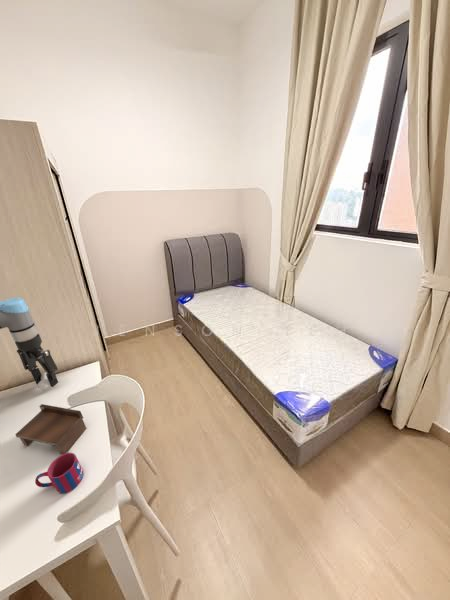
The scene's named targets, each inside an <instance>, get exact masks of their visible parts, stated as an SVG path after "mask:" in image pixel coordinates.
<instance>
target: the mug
mask: <svg viewBox="0 0 450 600" xmlns="http://www.w3.org/2000/svg"><path fill="white" fill-rule="evenodd" d="M42 477H43V478H44V477H48V479H49V480H50V482H41V481H39V479H40V478H42ZM83 477H84V469H83V467H82V465H81V463H80V461H79V459H78V457H77V455H76V454H75V453H74V452H67V453H65V454H63V455H62V454H60V455H59V456H57V457H56V458H55V459H54V460H53V461H52V462H51V463H50V464H49V466H48V468H47V471H44V472H40V473H39V474H37V475H36V477H35V480H34V483H35V485H36V486H37V487H39V488H50V487H54V489H55V491H56V492H57V493H59V494H67V493H69V492H72V491H73V490H74V489H76V488H77V487H78V485H80V483H81V482H82V480H83Z"/></svg>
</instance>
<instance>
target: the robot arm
mask: <svg viewBox="0 0 450 600" xmlns="http://www.w3.org/2000/svg"><path fill="white" fill-rule="evenodd" d="M30 311H31V310H30V308H29V307H28V304H27V302H26V301H25V299H24V298H22V297H11V298H8V299H3V300H1V301H0V330H2V329H6V328H7V329H8V331H9V333H10V335H11V337H12V340H13V341H14V343H15V346H16V348H17V350H16V353H17V355H18V356H19V358H20V361H21V363H22V366H23V369H24V370H25V371H27V370H28V371H29V372H30V374H31V376H32V377H33V379H34V381H35V383H36V386H38V383H39V382H40V381H41V375H42V374H43V373H42V372H41V370H40V368H39V365H40V366H41V367H42V369H43V370H44V372H47V374H46V376H47V378H48V380H49V383H50V385H51V386H50V387H51V388H54V387H55V386H56V385H58V383H59V381H58V378H57V375H56V372H57V371H58V370H59V368H58V366H57V363H56V362H55V360H54V359H53V357H52V355H51V351H50V350H49V349H46V350H45V349H44V348H43V347H42V346H41V345H42V343H43V340H42V338H41V335H40V333H39V331H38V329H37V326H36V323H35V321H34V319H33V316H32V315H31V312H30ZM37 363H38V364H39V365H37Z"/></svg>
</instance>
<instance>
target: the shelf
mask: <svg viewBox="0 0 450 600" xmlns="http://www.w3.org/2000/svg"><path fill="white" fill-rule="evenodd" d="M38 407H39V409H40V411H39V412H38V413H37V414H36V415H35V416H34V417H32V418H31V419H30V420H29V422H27V423H26V424H25V425H24V426H22V427H21V429H20V430H18V431H17V432H16V433H14V435H15V436H16V438H19V440H20V441H21V443H22V445H23V447H29V446H30V445H31V444H32V443H34V442H37V443H42V444H46V445H51V446H55V447H56V448H57V450H58V452H59V454H60V455H63V454H65V453H69V451H70V449H72V447H73V446H74V445H75V443H76V442H77V441H78V440H79V438H81V436H82V435H83V434H84V432H85V431H86V430H87V429H88V428H87V427H86V423H85V421H84V420H83V419H84V416H83V414H82V412H81V410H78V409H71V408H67V407H61V406H55V405H49V404H43V403H41V404H40V405H39V406H38Z"/></svg>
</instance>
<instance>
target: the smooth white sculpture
mask: <svg viewBox="0 0 450 600" xmlns="http://www.w3.org/2000/svg"><path fill="white" fill-rule="evenodd" d="M41 374H42V375H41V381H40V382H39V383H38V385H37V388H38V389H40V390H47V389H49V388H50V387H51V385H50V383H49V380H48V378H47V376H46V374H47V372H46V371H44V372H43V373H41Z"/></svg>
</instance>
